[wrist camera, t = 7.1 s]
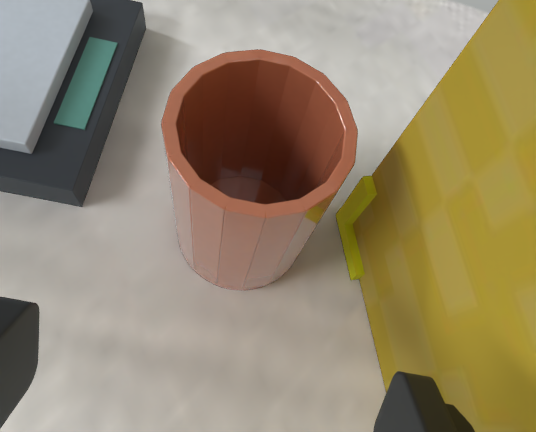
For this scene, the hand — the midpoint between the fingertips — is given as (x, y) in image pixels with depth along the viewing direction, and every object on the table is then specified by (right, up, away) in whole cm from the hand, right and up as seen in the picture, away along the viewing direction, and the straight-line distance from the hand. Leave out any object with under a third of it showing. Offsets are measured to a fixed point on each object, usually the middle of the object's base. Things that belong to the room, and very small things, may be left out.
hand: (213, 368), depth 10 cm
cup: (0, +3, +15) cm, 15 cm away
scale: (-14, +11, +16) cm, 24 cm away
